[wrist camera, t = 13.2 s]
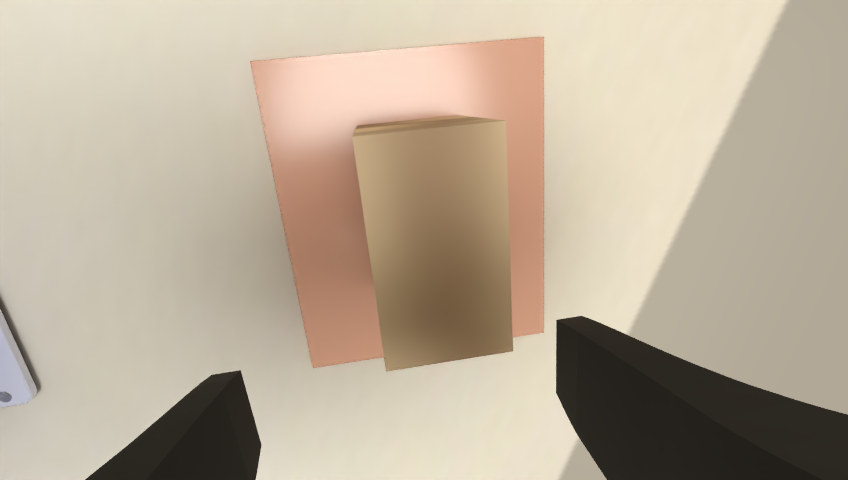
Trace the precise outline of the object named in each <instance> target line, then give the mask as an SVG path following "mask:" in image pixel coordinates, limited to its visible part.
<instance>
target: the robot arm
mask: <svg viewBox="0 0 848 480" xmlns="http://www.w3.org/2000/svg"><path fill="white" fill-rule="evenodd" d="M6 392H7V393H9V394H10V395H11V396H10V395H8V394H7V393H6ZM556 393H557V395H558V397H559V399H560V401H561V404H562V406H563V408H564V410H565V412H566V414H567V416H568V418H569V420H570V422H571V424H572V426H573V428H574V430H575V431H576V433H577V435H578V436H579V438H580V439H581V441H582V442H583V444H584V445H585V447H586V448H587V450H588V451H589V453H590V455H591V456H592V458H593V459H594V461H595V462H596V464H597V465H598V467H599V468H600V470H601V471H602V472H603V474H604V476H605V477H606V479H607V480H848V415H847V414H843V413H839V412H836V411H832V410H828V409H824V408H821V407H818V406H814V405H811V404H807V403H804V402H801V401H797V400H794V399H791V398H788V397H784V396H782V395H779V394H776V393H773V392H769V391H766V390H763V389H760V388H757V387H754V386H751V385H748V384H745V383H743V382H740V381H737V380H734V379H731V378H729V377H726V376H723V375H721V374H718V373H716V372H713V371H711V370H708V369H706V368H703V367H700V366H698V365H695V364H693V363H690V362H688V361H686V360H683V359H681V358H678V357H676V356H674V355H671V354H669V353H666V352H664V351H662V350H660V349H657V348H655V347H653V346H650V345H648V344H646V343H644V342H641V341H639V340H637V339H635V338H633V337H630V336H628V335H626V334H624V333H621V332H619V331H617V330H615V329H613V328H610V327H608V326H606V325H603V324H601V323H599V322H596V321H594V320H591V319H589V318H586V317H583V316H578V317H572V318H566V319H560V320H557V343H556ZM36 394H37V388H36V386H35V383H34V381H33V379H32V377H31V375H30V373H29V370H28V368H27V366H26V364H25V362H24V360H23V357H22V355H21V353H20V351H19V349H18V346H17V344H16V342H15V340H14V338H13V336H12V333H11V331H10V329H9V327H8V325H7V322H6V320H5V318H4V316H3V314H2V312H1V309H0V407H7V406H14V405H20V404H25V403H28V402H29V401H30V400H31V399H32V398H33V397H35V396H36ZM260 450H261V442H260V439H259V435H258V431H257V428H256V424H255V421H254V417H253V413H252V410H251V406H250V403H249V399H248V395H247V392H246V388H245V385H244V381H243V377H242V374H241V370H240V371H234V372H228V373H221V374H215V375H211V376H210V377H208V378H207V379H206V380H204V381H203V382H202V383H200V384H199V385H198V386H197V387H196V388H194V389H193V390H192V391H191V392H190V393H188V394H187V395H186V396H185V397H184V398H183V399H181V400H180V401H179V402H178V403H177V404H176V405H174V406H173V407H172V408H171V409H170V410H169V411H168V412H166V413H165V414H164V415H163V416H162V417H161V418H159V419H158V420H157V421H156V422H155V423H154V424H152V425H151V426H150V427H149V428H148V429H147V430H145V431H144V432H143V433H142V434H141V435H140V436H138V437H137V438H136V439H135V440H134V441H133V442H131V443H130V444H129V445H128V446H127V447H125V448H124V449H123V450H122V451H120V452H119V453H118V454H117V455H115V456H114V457H113V458H112V459H110V460H109V461H108V462H107V463H105V464H104V465H103V466H102V467H100V468H99V469H98V470H97V471H95V472H94V473H93V474H92V475H90V476H89V477H88V478H87V479H85V480H255V479H256V474H257V468H258V462H259V456H260Z"/></svg>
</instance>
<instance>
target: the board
mask: <svg viewBox="0 0 848 480" xmlns="http://www.w3.org/2000/svg"><path fill="white" fill-rule="evenodd" d="M250 63H251V68H252V73H253V78H254V83H255V88H256V93H257V98H258V102H259V107H260V112H261V117H262V122H263V127H264V132H265V137H266V142H267V146H268V151H269V156H270V161H271V166H272V171H273V176H274V181H275V185H276V190H277V195H278V200H279V205H280V210H281V215H282V220H283V224H284V229H285V234H286V239H287V244H288V249H289V254H290V259H291V264H292V268H293V273H294V278H295V283H296V288H297V293H298V298H299V303H300V307H301V312H302V317H303V322H304V327H305V332H306V337H307V342H308V346H309V351H310V356H311V361H312V366H313V368H315V367H322V366H328V365H335V364H342V363H348V362H355V361H361V360H368V359H374V358H381V357H384V353H383V346H382V339H381V332H380V325H379V318H378V311H377V305H376V298H375V291H374V284H373V277H372V270H371V263H370V256H369V249H368V242H367V236H366V229H365V222H364V215H363V208H362V201H361V194H360V187H359V180H358V173H357V167H356V160H355V153H354V146H353V139H352V136H353V134H354V131H355V129H356V127H357V126H358V125H367V124H377V123H387V122H396V121H406V120H416V119H425V118H435V117H444V116H454V115H462V116H471V117H480V118H488V119H497V120H506V139H507V171H508V203H509V236H510V268H511V300H512V333H513V337H517V336H524V335H530V334H537V333H544V37H535V38H523V39H511V40H499V41H487V42H475V43H463V44H451V45H439V46H427V47H415V48H403V49H391V50H379V51H367V52H355V53H343V54H331V55H319V56H307V57H295V58H283V59H271V60H259V61H250Z"/></svg>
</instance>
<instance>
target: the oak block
mask: <svg viewBox="0 0 848 480" xmlns="http://www.w3.org/2000/svg"><path fill="white" fill-rule="evenodd" d="M352 139H353V146H354V153H355V160H356V167H357V173H358V180H359V187H360V194H361V201H362V208H363V215H364V222H365V229H366V236H367V242H368V249H369V256H370V263H371V270H372V277H373V284H374V291H375V298H376V305H377V311H378V318H379V325H380V332H381V339H382V346H383V353H384V360H385V367H386V371H392V370H398V369H404V368H411V367H417V366H423V365H429V364H436V363H442V362H448V361H454V360H461V359H467V358H473V357H479V356H485V355H492V354H498V353H504V352H510V351H513V333H512V300H511V268H510V236H509V203H508V171H507V139H506V120H497V119H488V118H480V117H471V116H462V115H454V116H444V117H435V118H425V119H416V120H406V121H396V122H387V123H377V124H367V125H358V126H357V127H356V129H355V131H354V134H353V136H352Z"/></svg>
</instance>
